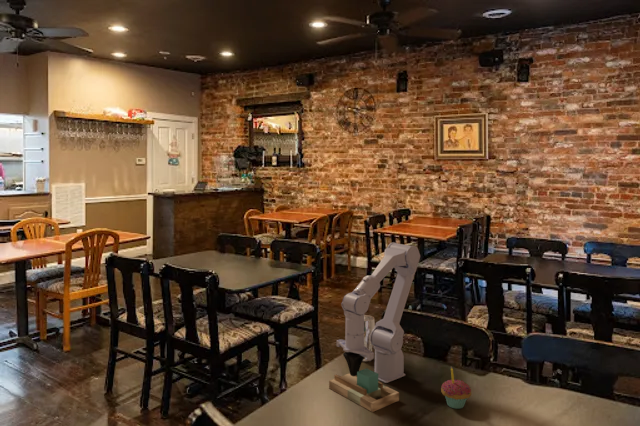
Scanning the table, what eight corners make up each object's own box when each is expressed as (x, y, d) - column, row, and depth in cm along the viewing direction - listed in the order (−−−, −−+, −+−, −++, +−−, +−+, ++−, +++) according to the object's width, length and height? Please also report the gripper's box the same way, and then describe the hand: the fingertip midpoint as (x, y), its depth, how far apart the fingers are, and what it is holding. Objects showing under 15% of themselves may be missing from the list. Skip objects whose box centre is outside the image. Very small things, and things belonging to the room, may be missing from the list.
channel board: (355, 378, 165) (355, 366, 165) (398, 400, 151) (399, 387, 150) (329, 388, 159) (329, 376, 158) (372, 412, 144) (372, 398, 143)
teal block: (366, 383, 156) (366, 368, 156) (378, 389, 152) (378, 373, 152) (356, 387, 154) (357, 371, 153) (368, 393, 150) (368, 377, 149)
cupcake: (454, 414, 143) (455, 373, 141) (434, 401, 150) (435, 362, 149) (477, 407, 147) (478, 367, 145) (456, 395, 154) (457, 357, 153)
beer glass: (373, 363, 178) (373, 321, 176) (353, 361, 179) (354, 320, 178) (375, 355, 185) (375, 315, 183) (356, 354, 186) (356, 314, 184)
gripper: (329, 328, 159) (329, 370, 160) (362, 342, 148) (361, 386, 149) (345, 324, 163) (345, 364, 165) (378, 336, 152) (378, 380, 154)
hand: (354, 374), depth 157 cm, fingers closed
